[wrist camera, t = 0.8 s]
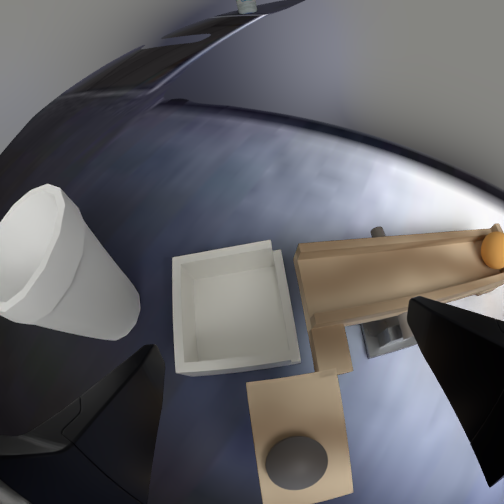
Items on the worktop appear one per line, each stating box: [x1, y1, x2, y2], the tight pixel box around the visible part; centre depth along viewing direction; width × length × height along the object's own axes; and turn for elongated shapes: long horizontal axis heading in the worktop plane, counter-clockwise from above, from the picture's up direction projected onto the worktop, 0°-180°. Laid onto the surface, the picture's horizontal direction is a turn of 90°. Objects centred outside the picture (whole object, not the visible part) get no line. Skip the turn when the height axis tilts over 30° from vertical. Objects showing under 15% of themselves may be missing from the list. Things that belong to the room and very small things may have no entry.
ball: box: [481, 231, 504, 269], centre depth 17 cm, size 3×3×3 cm
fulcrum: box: [361, 236, 417, 359], centre depth 20 cm, size 9×4×3 cm, turn 7°
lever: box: [246, 224, 504, 504], centre depth 16 cm, size 17×24×4 cm
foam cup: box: [0, 184, 141, 340], centre depth 19 cm, size 10×9×13 cm
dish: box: [172, 240, 301, 377], centre depth 21 cm, size 9×9×4 cm
